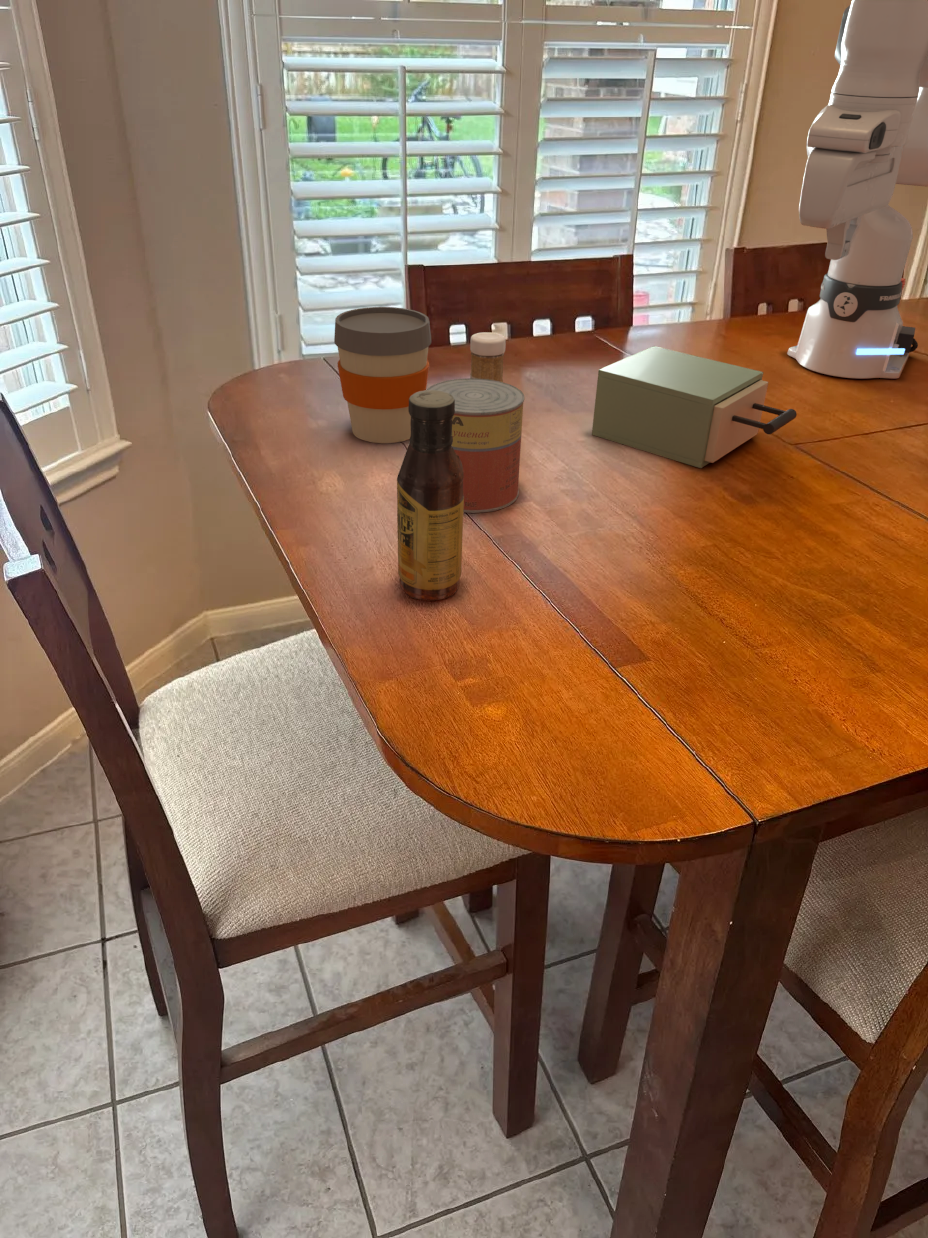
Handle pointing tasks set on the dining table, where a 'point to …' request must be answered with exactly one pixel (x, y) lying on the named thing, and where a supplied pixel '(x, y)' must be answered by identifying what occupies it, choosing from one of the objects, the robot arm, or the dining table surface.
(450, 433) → the sauce bottle
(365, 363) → the reusable coffee cup
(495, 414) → the canned food
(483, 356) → the sprinkles bottle
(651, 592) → the dining table surface
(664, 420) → the cabinet
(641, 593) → the dining table surface
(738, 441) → the drawer
